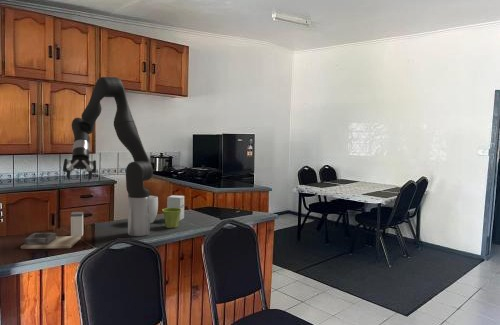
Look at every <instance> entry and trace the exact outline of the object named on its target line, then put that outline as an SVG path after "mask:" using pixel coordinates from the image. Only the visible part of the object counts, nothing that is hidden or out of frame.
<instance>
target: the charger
mask: <svg viewBox="0 0 500 325" xmlns="http://www.w3.org/2000/svg"><path fill="white" fill-rule="evenodd" d="M70 236H81V238H82V237H83V236H84V211H72V212H71V213H70Z"/></svg>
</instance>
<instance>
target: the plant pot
mask: <svg viewBox="0 0 500 325" xmlns="http://www.w3.org/2000/svg"><path fill="white" fill-rule="evenodd" d="M181 210H182V209H180V208H167V207H166V208H162V209H161V211H162V213H163V218H164V225H165V228H167V229H172V228H174V229H176V228H178V227H179V222H180V221H179V216H180V212H181Z"/></svg>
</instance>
